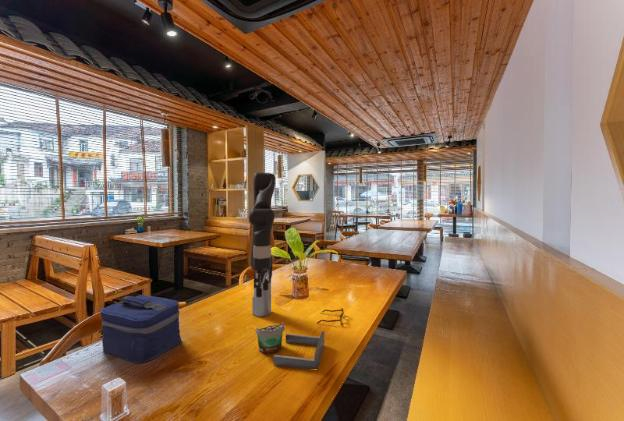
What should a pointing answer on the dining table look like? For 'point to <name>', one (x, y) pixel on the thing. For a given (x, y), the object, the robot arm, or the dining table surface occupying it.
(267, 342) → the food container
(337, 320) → the glasses
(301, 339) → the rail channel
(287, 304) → the dining table surface
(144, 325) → the lunch bag
